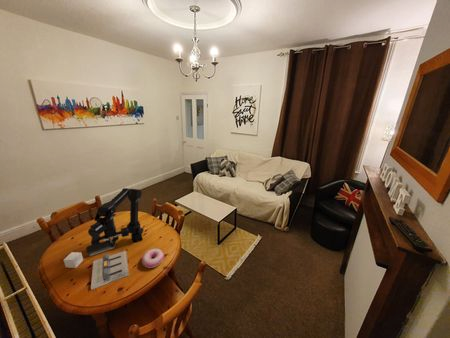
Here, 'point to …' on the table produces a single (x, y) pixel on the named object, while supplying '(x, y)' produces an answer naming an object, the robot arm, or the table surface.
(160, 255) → the donut
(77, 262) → the white cube
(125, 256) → the panel
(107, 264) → the breaker
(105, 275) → the breaker
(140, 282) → the table surface
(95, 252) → the black sponge
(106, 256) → the block
